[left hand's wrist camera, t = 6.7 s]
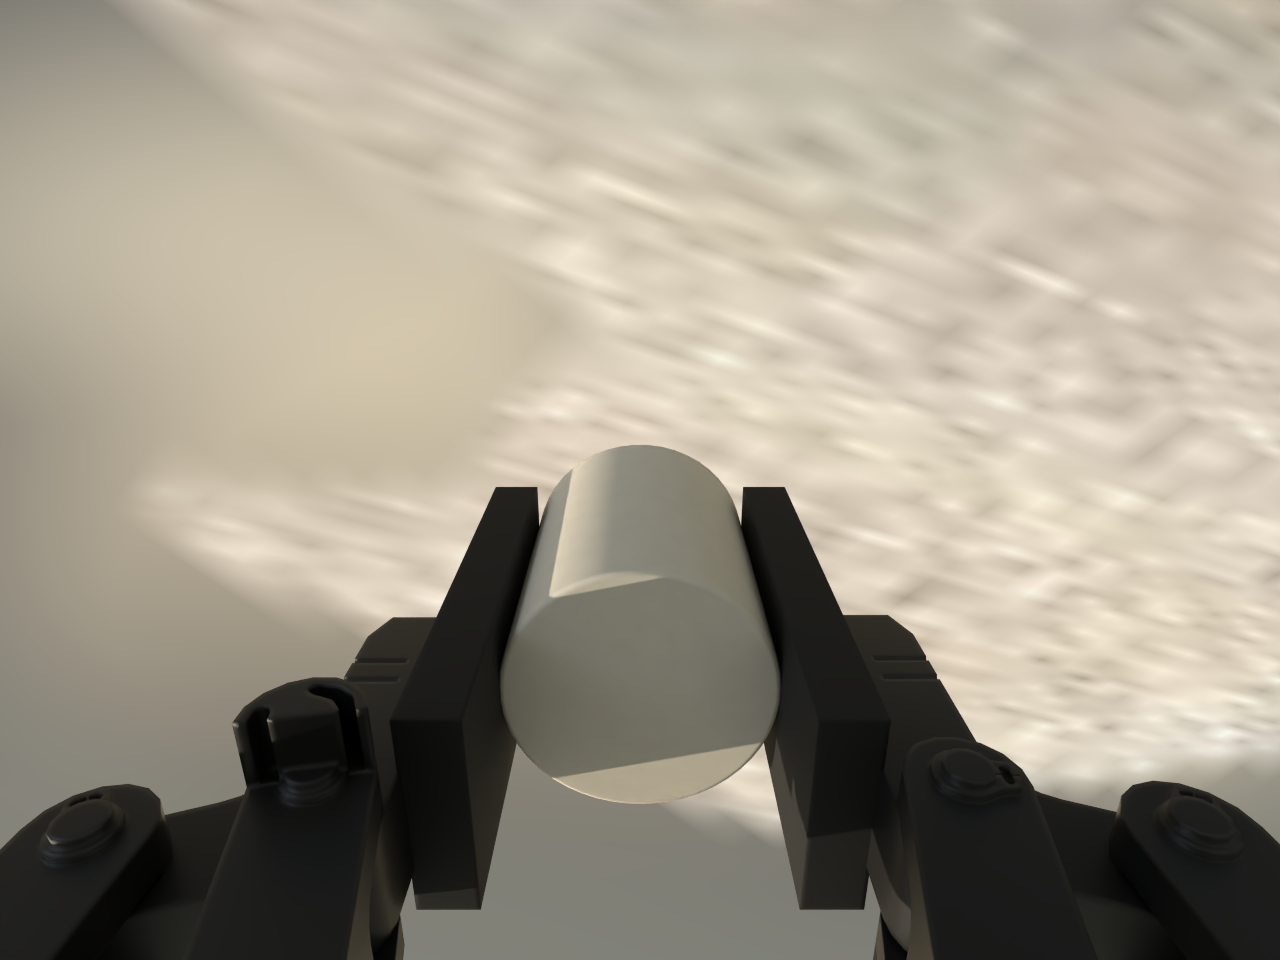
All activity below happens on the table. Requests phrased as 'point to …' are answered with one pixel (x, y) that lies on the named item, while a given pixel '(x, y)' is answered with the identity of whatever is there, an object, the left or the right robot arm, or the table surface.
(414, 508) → the table surface
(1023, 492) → the table surface
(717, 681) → the cylinder
